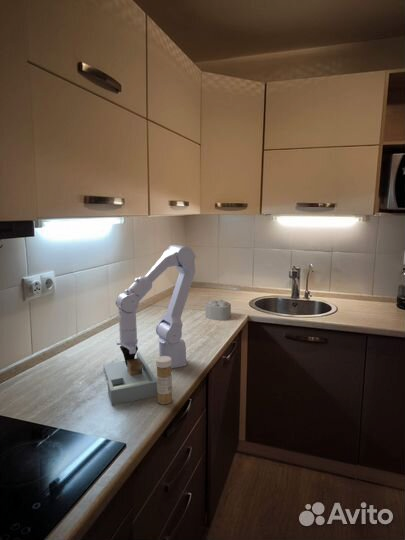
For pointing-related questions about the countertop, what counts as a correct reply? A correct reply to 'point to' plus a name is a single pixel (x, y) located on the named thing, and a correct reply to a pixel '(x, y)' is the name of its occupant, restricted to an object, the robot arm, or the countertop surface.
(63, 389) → the countertop surface
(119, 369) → the grey pocketed tray
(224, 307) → the lumpy-topped squat cylinder
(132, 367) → the block
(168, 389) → the sprinkles bottle
